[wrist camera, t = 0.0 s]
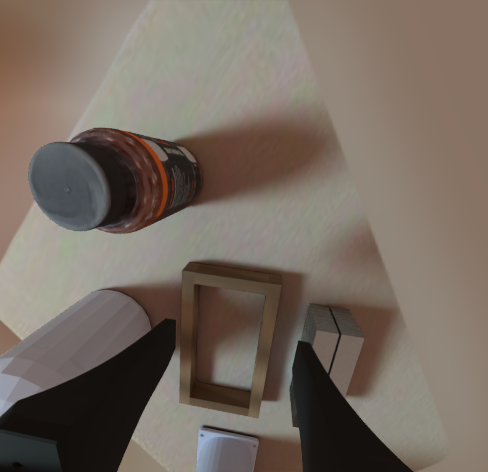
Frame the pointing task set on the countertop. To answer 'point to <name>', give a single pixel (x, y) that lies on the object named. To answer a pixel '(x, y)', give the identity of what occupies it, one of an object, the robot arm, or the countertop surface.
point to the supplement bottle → (113, 180)
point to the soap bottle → (71, 344)
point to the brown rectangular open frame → (191, 283)
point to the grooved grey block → (332, 345)
